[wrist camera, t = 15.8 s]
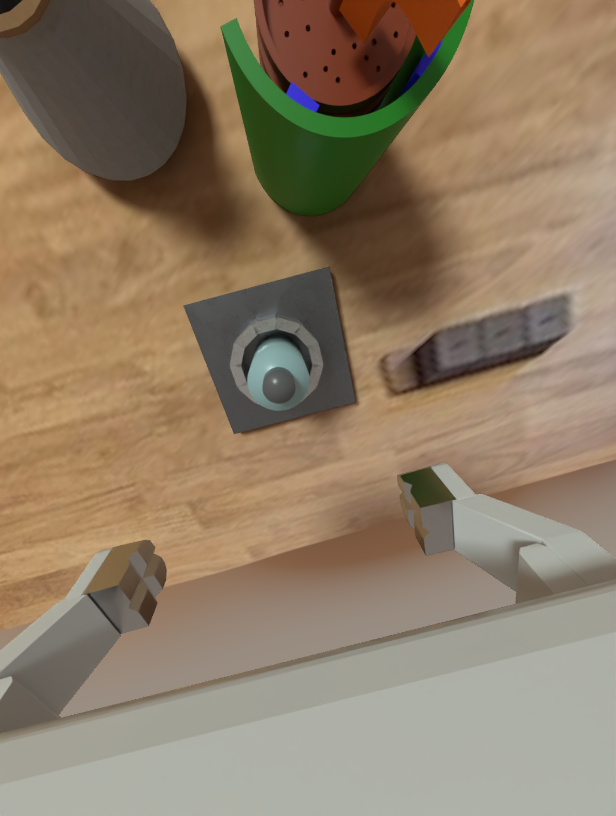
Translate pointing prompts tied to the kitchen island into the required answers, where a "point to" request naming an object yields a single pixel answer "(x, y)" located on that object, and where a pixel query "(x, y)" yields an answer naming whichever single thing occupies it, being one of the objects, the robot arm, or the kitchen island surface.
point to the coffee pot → (96, 81)
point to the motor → (335, 88)
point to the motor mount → (264, 316)
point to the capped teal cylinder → (278, 374)
